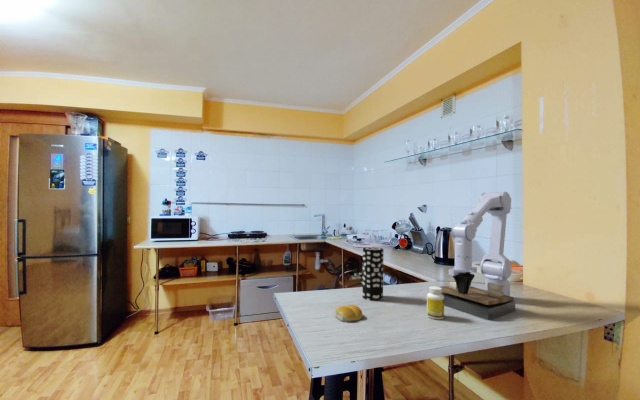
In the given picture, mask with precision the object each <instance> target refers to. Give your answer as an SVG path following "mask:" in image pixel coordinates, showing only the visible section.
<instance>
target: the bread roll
mask: <svg viewBox="0 0 640 400" xmlns="http://www.w3.org/2000/svg"><path fill="white" fill-rule="evenodd" d="M334 317H335V318H336V319H338V320H339V321H341V322H345V321H349V322H350V321H351V322H355V321H359V320H361V319H362V318H363V310H362V309H361V308H360V307H359V306H357V305H355V304H348V305H342V306H341V305H340V306H337V308H336V309H335V312H334ZM349 322H348V323H349ZM351 322H350V323H351Z"/></svg>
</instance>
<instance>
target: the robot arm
mask: <svg viewBox="0 0 640 400" xmlns="http://www.w3.org/2000/svg"><path fill="white" fill-rule="evenodd" d="M511 208H512V198H511V195H510V194H509V192H507V191H502V192H501V191H500V192H498V191H497V192H482V193H481V194H480V195H479V197H478V203H477V204H476V207H475V208H474V210H473V211H472V210H471V211H468V212H467V214H466V215H465V216H464V217H463V219H462V220H461V221H460V222H459V223H456V224H454V225H453V226H452V228H451V230H450V234H451V237H452V242H453V243H454V266H453V267H452V268H450V269H448V275H449V276H451V277H452V278H453V280H454V282H456V285H457V288H458V292H459V293H461V294H468V290H469V287H470V284H471V285H472V281H473V279H474V278H475V274H474V273H478V267H477V266H474V265H473V240H474V239H475V238H476V234H477V231H478V228H479V226H480V225H481V223H482V222H483V221H484V219H483V216H484V215H485V214H486V213H488V214H490V215H491V226H490V227H491V228H490V237H489V246H488V247H489V248H488V249H489V250H488V253H486V254H484V255H483V256H482V258H481V262H480V264H479V271H480V273H481V274H482V276H483V277H484V281H485V282H484V286H485V287H484V290H487V285H488V283H497V284H501V285H503V295H507V296H511V283H510V281H509V278H510V277H511V275H512V266H511V260H510V259H509V258H508V257H506V256H505V254H504V251H505V237H506V226H507V218H508V217H507V215H508V214H511Z"/></svg>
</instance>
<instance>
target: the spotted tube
mask: <svg viewBox="0 0 640 400" xmlns="http://www.w3.org/2000/svg"><path fill="white" fill-rule="evenodd" d="M361 296H362V299H364V300H366V301H372V302H378V301H379V302H380V301H382V300H383V299H384V248H382V247H362V295H361Z"/></svg>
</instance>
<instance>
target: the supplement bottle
mask: <svg viewBox="0 0 640 400" xmlns="http://www.w3.org/2000/svg"><path fill="white" fill-rule="evenodd" d="M440 287H441V286H434V285H433V286H429V288H428V289H429V292H428V293H427V294H426V316H427V317H428V318H430V319H432V320H443V319H444V317H445V306H444V296H443V295H442V294H441V293H442V288H440Z"/></svg>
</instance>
